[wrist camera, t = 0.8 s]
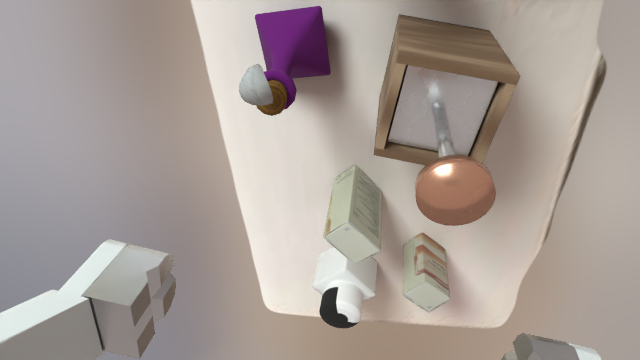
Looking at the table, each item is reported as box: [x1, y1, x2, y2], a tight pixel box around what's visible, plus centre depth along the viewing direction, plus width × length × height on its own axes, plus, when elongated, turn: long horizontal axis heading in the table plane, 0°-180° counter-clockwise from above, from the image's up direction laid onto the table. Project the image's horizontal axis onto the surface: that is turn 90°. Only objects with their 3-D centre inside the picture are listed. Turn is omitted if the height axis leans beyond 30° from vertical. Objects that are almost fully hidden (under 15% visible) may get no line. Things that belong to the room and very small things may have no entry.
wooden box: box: [374, 15, 520, 165], centre depth 42 cm, size 10×10×14 cm
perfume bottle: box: [239, 6, 331, 116], centre depth 41 cm, size 8×8×18 cm
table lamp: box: [388, 65, 498, 226], centre depth 32 cm, size 8×8×13 cm
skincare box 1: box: [323, 166, 382, 264], centre depth 54 cm, size 6×4×12 cm
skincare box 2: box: [403, 233, 450, 312], centre depth 59 cm, size 5×4×10 cm
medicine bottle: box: [312, 247, 377, 328], centre depth 63 cm, size 7×7×12 cm
